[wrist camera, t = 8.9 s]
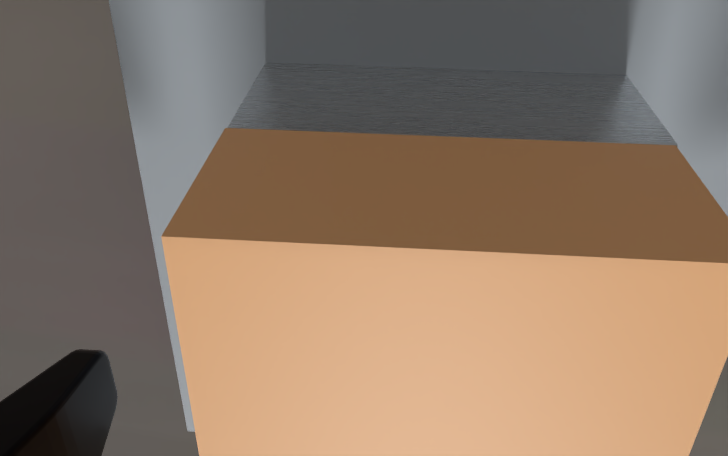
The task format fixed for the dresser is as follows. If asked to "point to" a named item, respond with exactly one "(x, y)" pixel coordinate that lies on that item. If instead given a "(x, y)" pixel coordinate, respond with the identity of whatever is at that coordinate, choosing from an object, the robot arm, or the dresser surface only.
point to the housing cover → (447, 296)
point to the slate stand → (402, 49)
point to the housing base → (450, 103)
